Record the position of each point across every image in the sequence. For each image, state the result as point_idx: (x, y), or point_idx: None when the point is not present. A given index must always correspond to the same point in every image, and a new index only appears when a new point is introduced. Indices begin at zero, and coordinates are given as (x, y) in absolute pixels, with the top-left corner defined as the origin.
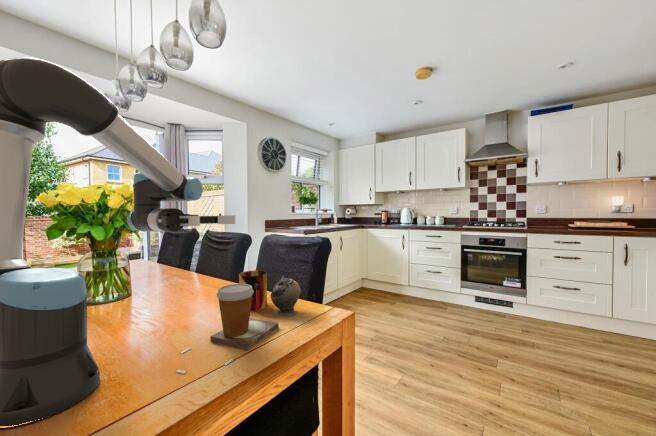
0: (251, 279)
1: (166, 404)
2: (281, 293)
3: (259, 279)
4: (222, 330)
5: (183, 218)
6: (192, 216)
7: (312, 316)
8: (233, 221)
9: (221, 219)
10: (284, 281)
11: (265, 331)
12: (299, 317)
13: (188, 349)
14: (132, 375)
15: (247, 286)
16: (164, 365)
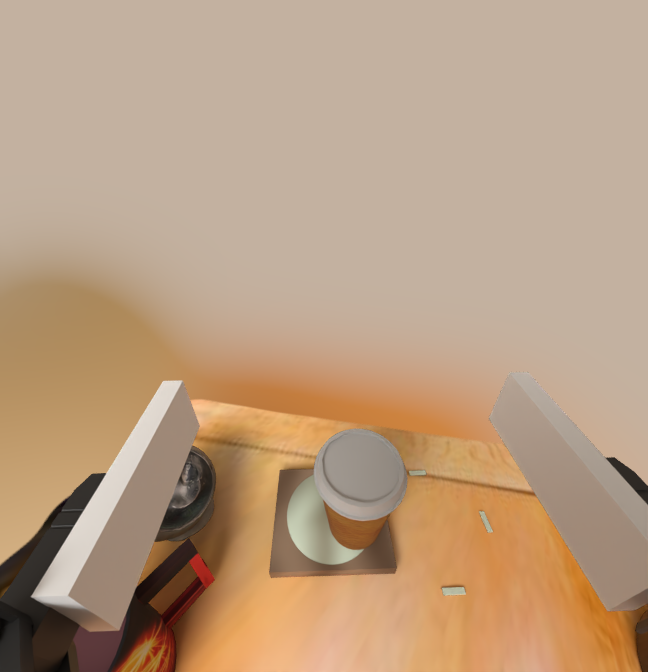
0: (135, 604)
1: (518, 474)
2: (208, 471)
3: None
4: (361, 565)
5: (631, 471)
6: (557, 409)
7: (209, 447)
8: (194, 415)
9: (129, 539)
10: None
11: None
12: (218, 467)
13: (447, 588)
14: (568, 609)
15: (326, 454)
16: (505, 578)
